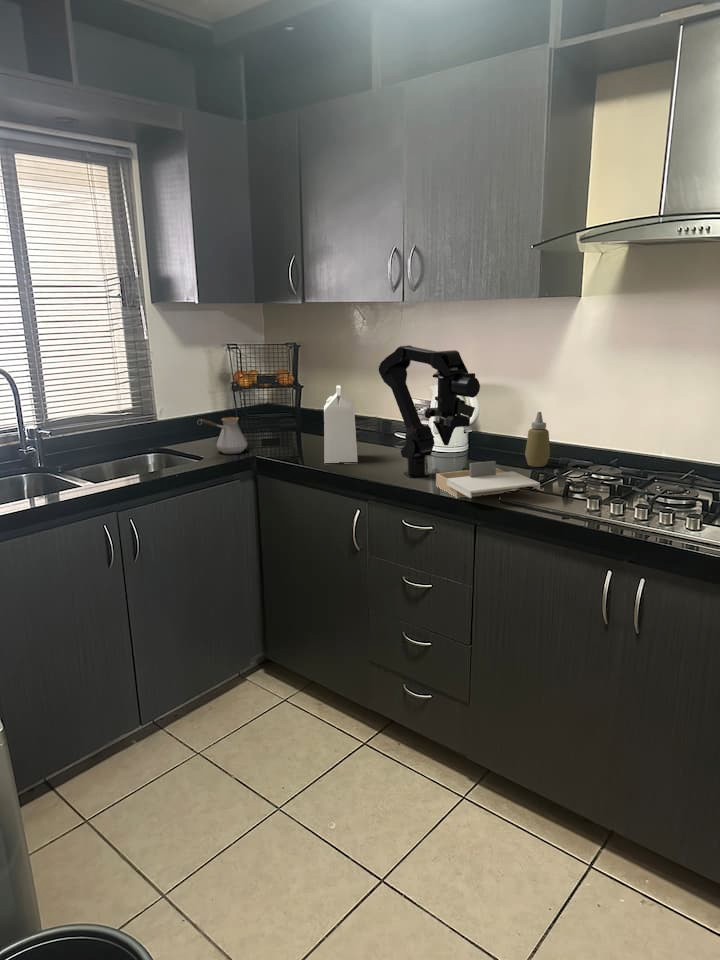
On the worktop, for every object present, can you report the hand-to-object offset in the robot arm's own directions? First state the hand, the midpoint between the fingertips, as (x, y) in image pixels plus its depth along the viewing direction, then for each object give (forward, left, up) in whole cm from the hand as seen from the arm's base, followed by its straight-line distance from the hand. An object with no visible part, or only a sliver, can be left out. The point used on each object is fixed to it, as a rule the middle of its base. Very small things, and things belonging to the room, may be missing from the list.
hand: (446, 445), depth 208 cm
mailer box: (+10, +6, -12) cm, 16 cm away
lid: (+19, +6, -9) cm, 22 cm away
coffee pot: (-69, -58, -12) cm, 91 cm away
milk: (-43, -20, -12) cm, 49 cm away
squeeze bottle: (-8, +38, -12) cm, 40 cm away
